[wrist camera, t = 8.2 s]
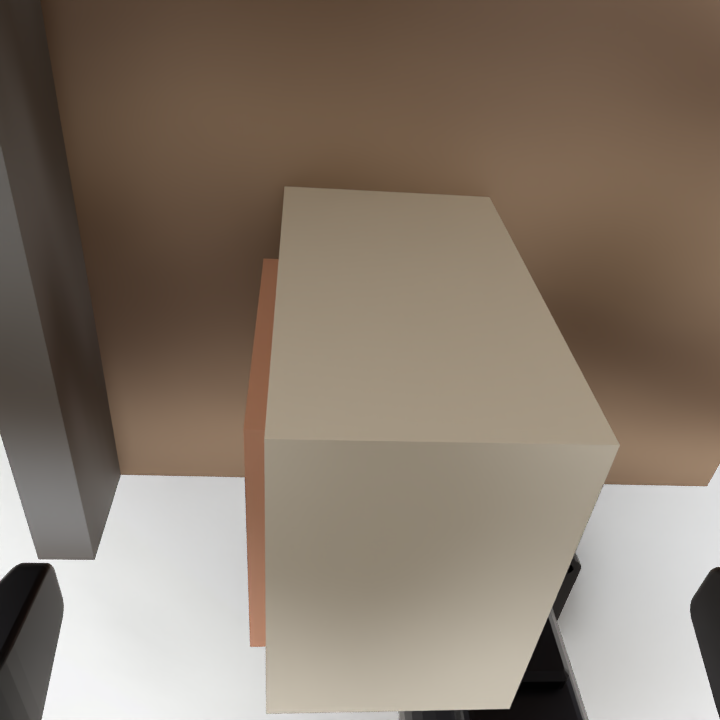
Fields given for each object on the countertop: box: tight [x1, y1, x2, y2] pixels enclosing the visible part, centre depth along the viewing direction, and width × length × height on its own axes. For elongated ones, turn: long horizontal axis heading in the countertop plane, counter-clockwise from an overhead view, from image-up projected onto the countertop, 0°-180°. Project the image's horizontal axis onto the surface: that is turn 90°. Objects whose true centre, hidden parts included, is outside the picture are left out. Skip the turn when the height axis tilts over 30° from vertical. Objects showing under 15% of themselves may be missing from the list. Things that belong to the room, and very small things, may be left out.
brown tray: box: [0, 0, 720, 560], centre depth 11 cm, size 22×17×4 cm
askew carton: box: [243, 186, 620, 714], centre depth 12 cm, size 4×6×7 cm
